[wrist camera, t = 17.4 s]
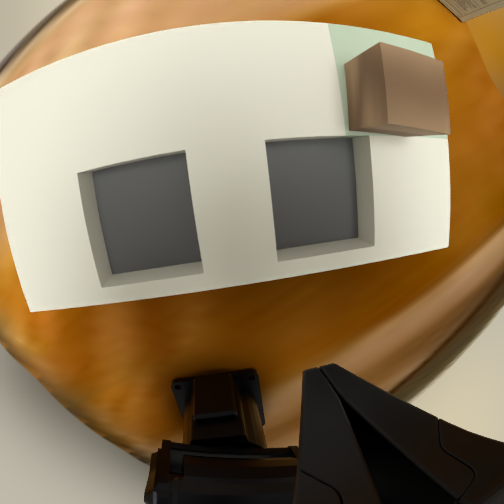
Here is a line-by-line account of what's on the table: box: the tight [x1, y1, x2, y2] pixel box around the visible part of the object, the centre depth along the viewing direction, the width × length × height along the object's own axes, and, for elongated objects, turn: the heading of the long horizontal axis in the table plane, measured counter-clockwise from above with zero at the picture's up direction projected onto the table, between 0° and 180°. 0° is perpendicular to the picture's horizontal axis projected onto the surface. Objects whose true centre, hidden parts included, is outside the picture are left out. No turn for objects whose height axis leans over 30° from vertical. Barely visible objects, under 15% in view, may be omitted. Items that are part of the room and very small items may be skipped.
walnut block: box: [344, 42, 450, 137], centre depth 13 cm, size 4×4×4 cm
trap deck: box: [0, 21, 450, 312], centre depth 16 cm, size 14×28×2 cm, turn 97°
